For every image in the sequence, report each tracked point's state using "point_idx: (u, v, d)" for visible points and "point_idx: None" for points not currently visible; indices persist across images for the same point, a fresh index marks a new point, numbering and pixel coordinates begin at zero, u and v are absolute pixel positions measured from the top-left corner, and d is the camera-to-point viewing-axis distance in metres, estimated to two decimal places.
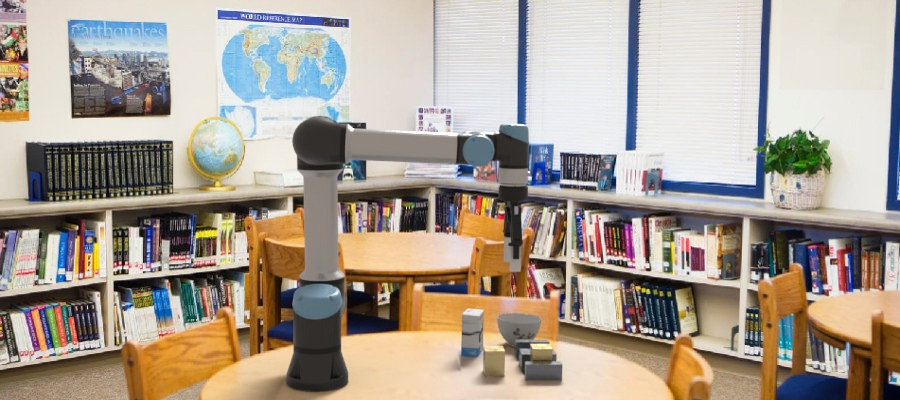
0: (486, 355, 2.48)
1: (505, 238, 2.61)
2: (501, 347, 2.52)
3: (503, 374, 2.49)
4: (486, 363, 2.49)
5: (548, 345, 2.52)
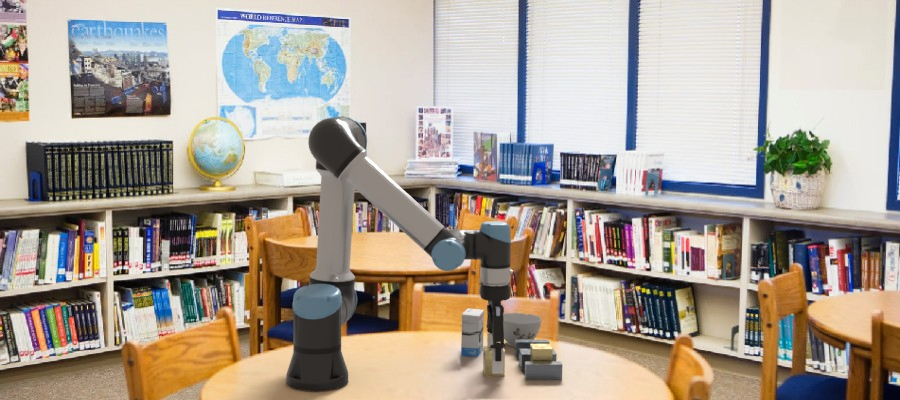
0: (486, 355, 2.48)
1: (488, 334, 2.57)
2: None
3: (503, 374, 2.49)
4: (486, 363, 2.49)
5: (548, 345, 2.52)
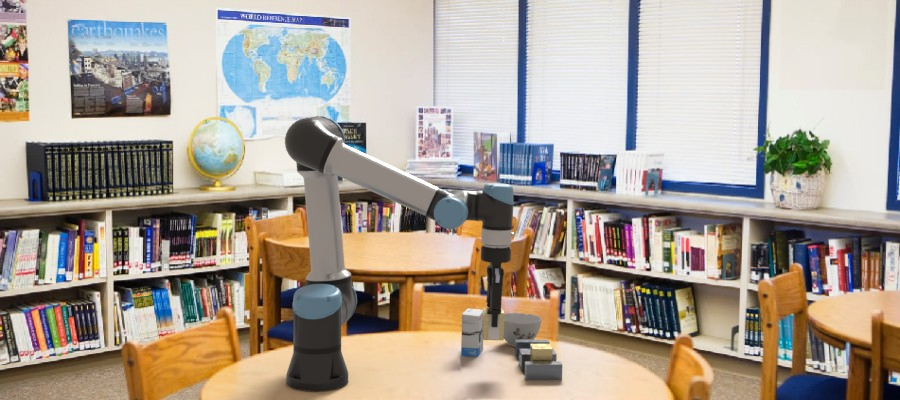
0: (485, 317, 2.47)
1: None
2: None
3: (502, 336, 2.48)
4: (485, 325, 2.47)
5: (548, 345, 2.52)
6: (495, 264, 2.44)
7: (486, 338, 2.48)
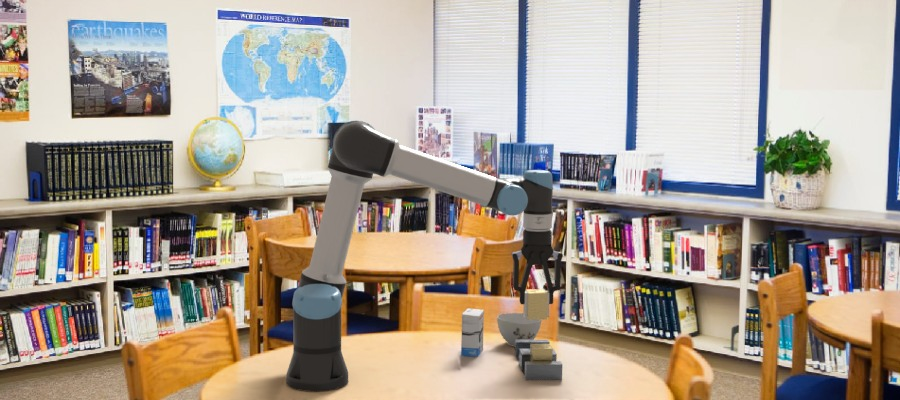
0: None
1: None
2: (541, 292, 2.60)
3: (527, 315, 2.60)
4: None
5: (548, 345, 2.52)
6: (523, 244, 2.61)
7: None
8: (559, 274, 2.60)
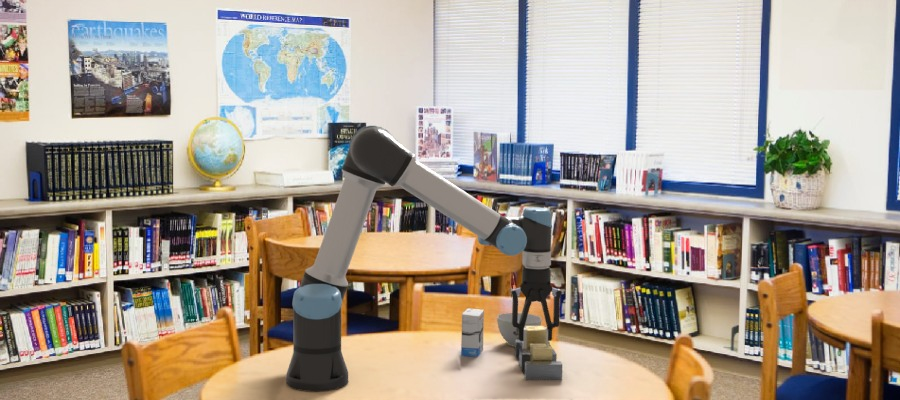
0: None
1: None
2: (540, 329, 2.61)
3: None
4: None
5: (548, 345, 2.52)
6: (522, 281, 2.62)
7: None
8: (558, 311, 2.62)
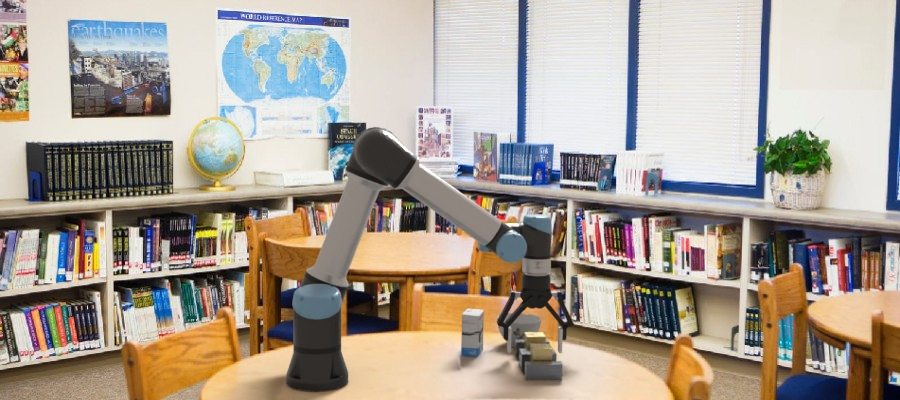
0: (524, 336, 2.65)
1: (558, 327, 2.64)
2: (539, 336, 2.61)
3: None
4: (524, 344, 2.65)
5: (548, 345, 2.52)
6: None
7: None
8: (566, 311, 2.62)
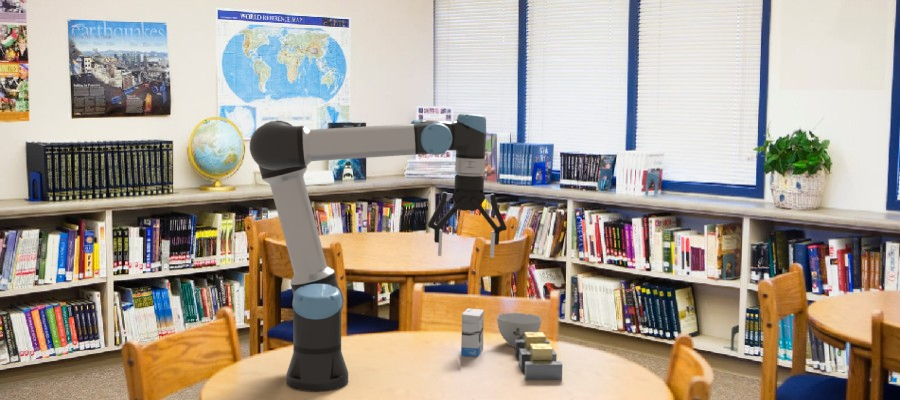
0: (524, 336, 2.65)
1: (491, 232, 2.57)
2: (539, 336, 2.61)
3: None
4: (524, 344, 2.65)
5: (548, 345, 2.52)
6: None
7: None
8: (499, 215, 2.54)
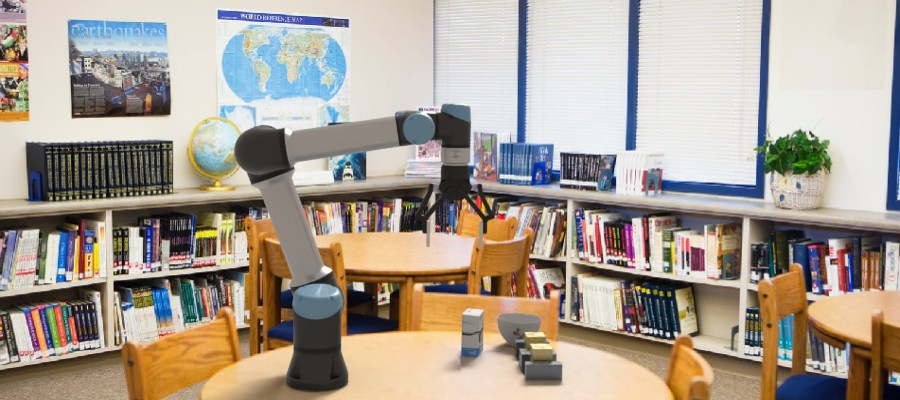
0: (524, 336, 2.65)
1: (479, 221, 2.56)
2: (539, 336, 2.61)
3: None
4: (524, 344, 2.65)
5: (548, 345, 2.52)
6: None
7: None
8: (487, 204, 2.53)
